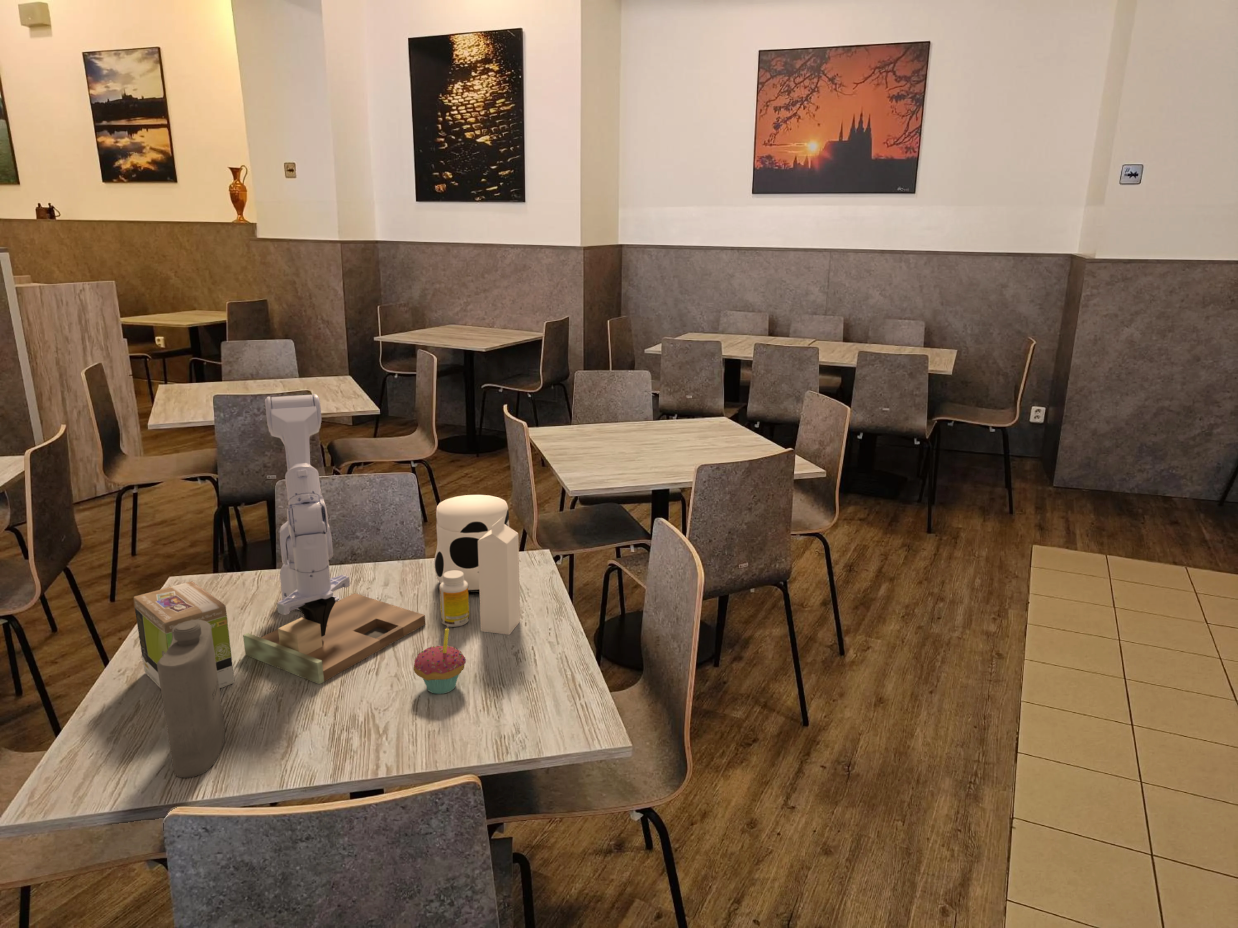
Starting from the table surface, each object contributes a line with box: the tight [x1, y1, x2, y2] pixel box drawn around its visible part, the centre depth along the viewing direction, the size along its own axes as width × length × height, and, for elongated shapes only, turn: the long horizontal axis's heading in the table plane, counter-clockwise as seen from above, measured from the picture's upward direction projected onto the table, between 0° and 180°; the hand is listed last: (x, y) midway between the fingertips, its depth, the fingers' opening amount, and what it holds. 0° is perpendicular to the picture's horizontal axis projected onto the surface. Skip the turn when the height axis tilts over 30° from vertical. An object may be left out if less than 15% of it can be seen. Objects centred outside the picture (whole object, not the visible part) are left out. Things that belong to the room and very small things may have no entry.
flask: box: [157, 620, 226, 779], centre depth 118 cm, size 15×6×20 cm, turn 18°
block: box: [277, 617, 322, 655], centre depth 145 cm, size 5×5×4 cm
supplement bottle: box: [439, 570, 470, 628], centre depth 160 cm, size 6×6×10 cm
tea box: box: [133, 581, 235, 689], centre depth 138 cm, size 15×10×15 cm
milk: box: [478, 517, 521, 636], centre depth 157 cm, size 6×6×22 cm
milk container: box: [433, 494, 510, 593], centre depth 177 cm, size 17×17×18 cm
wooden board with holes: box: [242, 592, 426, 685], centre depth 153 cm, size 20×26×4 cm
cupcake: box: [413, 625, 467, 695], centre depth 136 cm, size 9×8×12 cm
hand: (318, 635), depth 149 cm, fingers closed
